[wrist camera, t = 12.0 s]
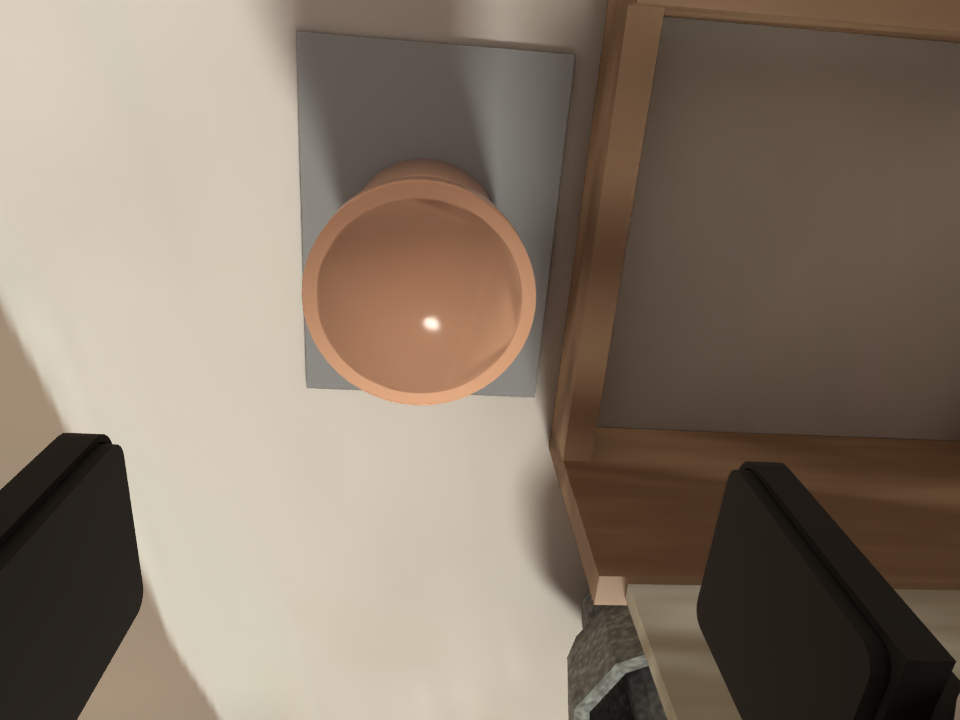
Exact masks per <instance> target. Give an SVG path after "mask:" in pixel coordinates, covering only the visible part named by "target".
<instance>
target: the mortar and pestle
mask: <svg viewBox="0 0 960 720" xmlns="http://www.w3.org/2000/svg"><path fill="white" fill-rule="evenodd" d="M582 621H583V630H582V631H581V632H580V633H579V634H578V635H577V637H576V639H575V641H574V643H573V646H572V648H571V650H570V653H569V655H568V657H567V659H568V711H569V720H667V717H666V714H665V711H664V708H663V705H662V703H661V700H660V697H659V694H658V691H657V688H656V685H655V683H654V680H653V677H652V674H651V671H650V668H649V665H648V663H647V660H646V657H645V654H644V651H643V648H642V645H641V642H640V640H639V637H638V634H637V631H636V628H635V625H634V622H633V620H632V617H631V614H630V611H629V608H628V605H594V603H593V599H592V596H591V592H589V593H588V594H587V595H586V596H585V597H584V599H583V600H582Z"/></svg>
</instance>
